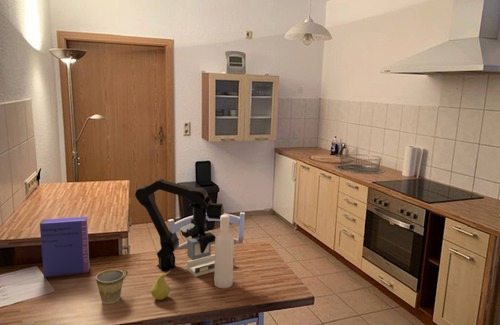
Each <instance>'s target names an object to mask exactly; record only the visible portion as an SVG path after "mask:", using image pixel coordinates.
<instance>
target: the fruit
mask: <svg viewBox="0 0 500 325" xmlns="http://www.w3.org/2000/svg"><path fill="white" fill-rule="evenodd" d="M171 270H172V269H169V270H168V271H167V272H165V273H161V274H160V275H159V276H158V277H157V279H156V281H155V282H154V283H153V285H152V286H151V295H152V297H153V298H154V299H155V300H158V301H161V300H164V299H165V298H167V297H168V296H169V294H170V292H171V287H170V285H169V284H168V283H167V282H166V281H165V280H166V279H165V276H166V274H169V273H171Z"/></svg>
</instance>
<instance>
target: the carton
mask: <svg viewBox="0 0 500 325" xmlns="http://www.w3.org/2000/svg"><path fill="white" fill-rule="evenodd" d="M186 240H187V248H186V249H187V257H188V258H190V260H196V259H200V258H203V257H207V256H211V255H212V254H211V253H212V252H211V251H212V247H211V246H212V242H210V243H209V244H208V245H207V247H206V249H205V251H204V253H201V250H200V243H199V242H198V241H197V240H199V237H194V238H192V237H189V238H188V239H187V238H186Z"/></svg>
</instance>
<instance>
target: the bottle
mask: <svg viewBox="0 0 500 325" xmlns="http://www.w3.org/2000/svg"><path fill="white" fill-rule="evenodd" d="M230 219H231V218H230V215H228V214H224V215H221V218H220V219H219V222H220V226H219V227H220V229H219V232H218V233H216V235H215V236H216V238H215V241H214V254H215V271H214V273H213V274H214V276H213V278H214V279H213V282H214V286H215V287H217V289H218V288H219V289H229V288H230V287H232V286H233V283H234V266H233V258H234V250H235V249H234V248H235V247H234V245H235V240H234V236H233V234H232V233H231V232H230Z"/></svg>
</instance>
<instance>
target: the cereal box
mask: <svg viewBox="0 0 500 325" xmlns="http://www.w3.org/2000/svg"><path fill="white" fill-rule="evenodd" d="M39 230H40V231H39V233H40V244H41V246H40V247H41V257H42V269H43V270H42V271H43V272H42V273H43V278H49V277H50V278H51V277H60V276H67V275H76V274H85V273H90V265H91V264H90V251H89V250H90V249H89V247H90V246H89V245H90V244H89V228H88V216H81V217H80V216H79V217H78V216H77V217H64V218H63V217H62V218H61V217H60V218H50V219H49V218H48V219H47V218H46V219H41V221H40V222H39Z"/></svg>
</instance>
